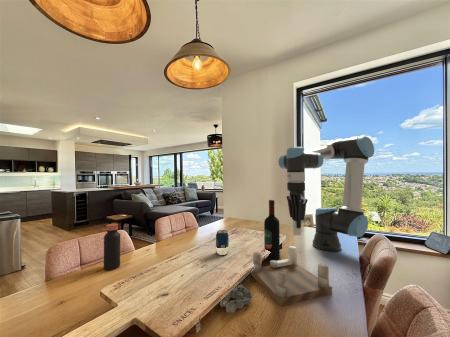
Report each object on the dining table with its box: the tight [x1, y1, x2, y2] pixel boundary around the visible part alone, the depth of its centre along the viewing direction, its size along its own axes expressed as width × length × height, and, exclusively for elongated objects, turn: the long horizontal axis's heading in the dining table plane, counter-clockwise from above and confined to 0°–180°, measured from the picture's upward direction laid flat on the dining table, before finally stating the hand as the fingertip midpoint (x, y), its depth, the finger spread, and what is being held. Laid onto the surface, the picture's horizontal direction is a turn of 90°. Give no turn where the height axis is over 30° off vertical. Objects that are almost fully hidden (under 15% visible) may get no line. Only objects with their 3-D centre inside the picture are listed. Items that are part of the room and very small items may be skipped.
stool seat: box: [250, 251, 333, 307], centre depth 82 cm, size 23×23×10 cm
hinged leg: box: [269, 245, 298, 268], centre depth 91 cm, size 13×4×7 cm, turn 109°
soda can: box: [215, 229, 230, 248], centre depth 112 cm, size 7×7×12 cm
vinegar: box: [103, 222, 121, 271], centre depth 96 cm, size 7×7×20 cm
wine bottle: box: [263, 199, 281, 263], centre depth 104 cm, size 8×8×30 cm
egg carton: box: [219, 284, 254, 314], centre depth 69 cm, size 11×8×4 cm
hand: (297, 234), depth 91 cm, fingers closed
